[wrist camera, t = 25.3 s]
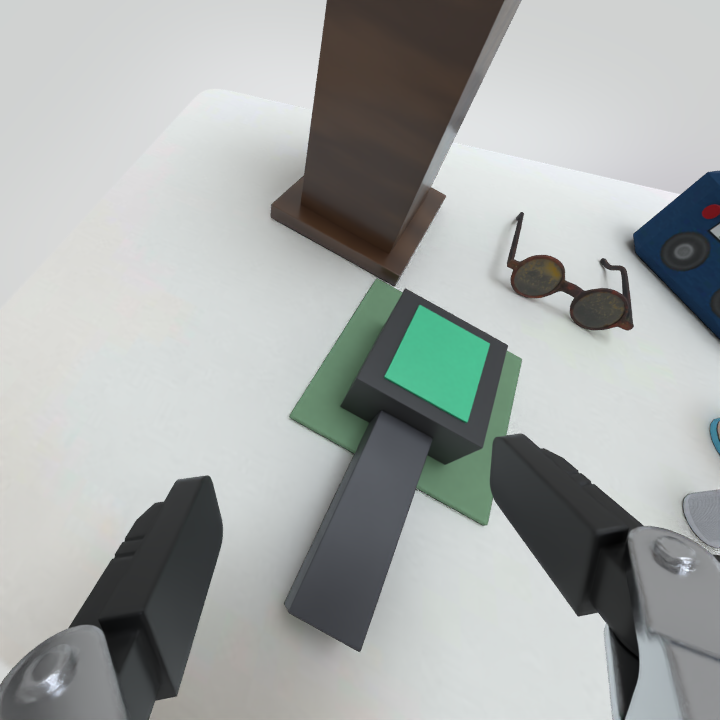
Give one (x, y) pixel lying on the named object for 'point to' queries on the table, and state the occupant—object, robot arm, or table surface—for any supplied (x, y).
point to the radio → (688, 248)
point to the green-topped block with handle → (395, 455)
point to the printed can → (715, 433)
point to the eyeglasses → (571, 289)
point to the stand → (388, 122)
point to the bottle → (704, 515)
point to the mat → (325, 416)
